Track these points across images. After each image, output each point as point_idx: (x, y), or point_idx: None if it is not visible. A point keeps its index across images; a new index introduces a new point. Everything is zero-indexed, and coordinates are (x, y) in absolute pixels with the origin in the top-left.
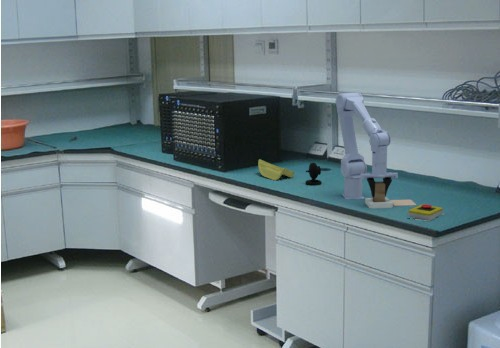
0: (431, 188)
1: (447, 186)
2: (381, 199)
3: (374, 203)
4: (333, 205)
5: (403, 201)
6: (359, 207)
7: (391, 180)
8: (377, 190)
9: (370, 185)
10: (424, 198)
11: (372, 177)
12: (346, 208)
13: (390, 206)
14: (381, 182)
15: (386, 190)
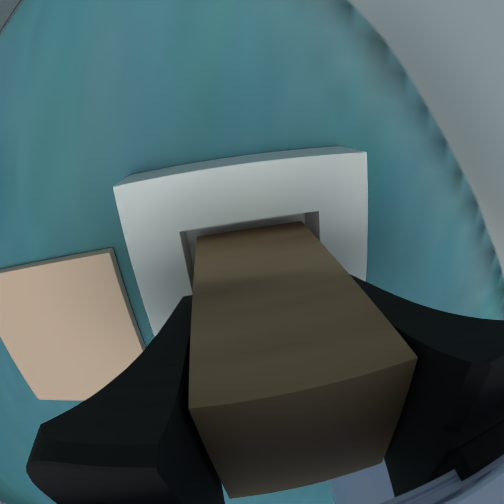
0: (40, 498)
1: (11, 496)
2: (236, 246)
3: (321, 156)
4: (500, 269)
5: (63, 365)
6: (400, 225)
7: (31, 452)
8: (322, 295)
9: (466, 320)
10: (3, 418)
11: (477, 475)
12: (473, 199)
13: (143, 175)
14: (262, 462)
15: (168, 330)
